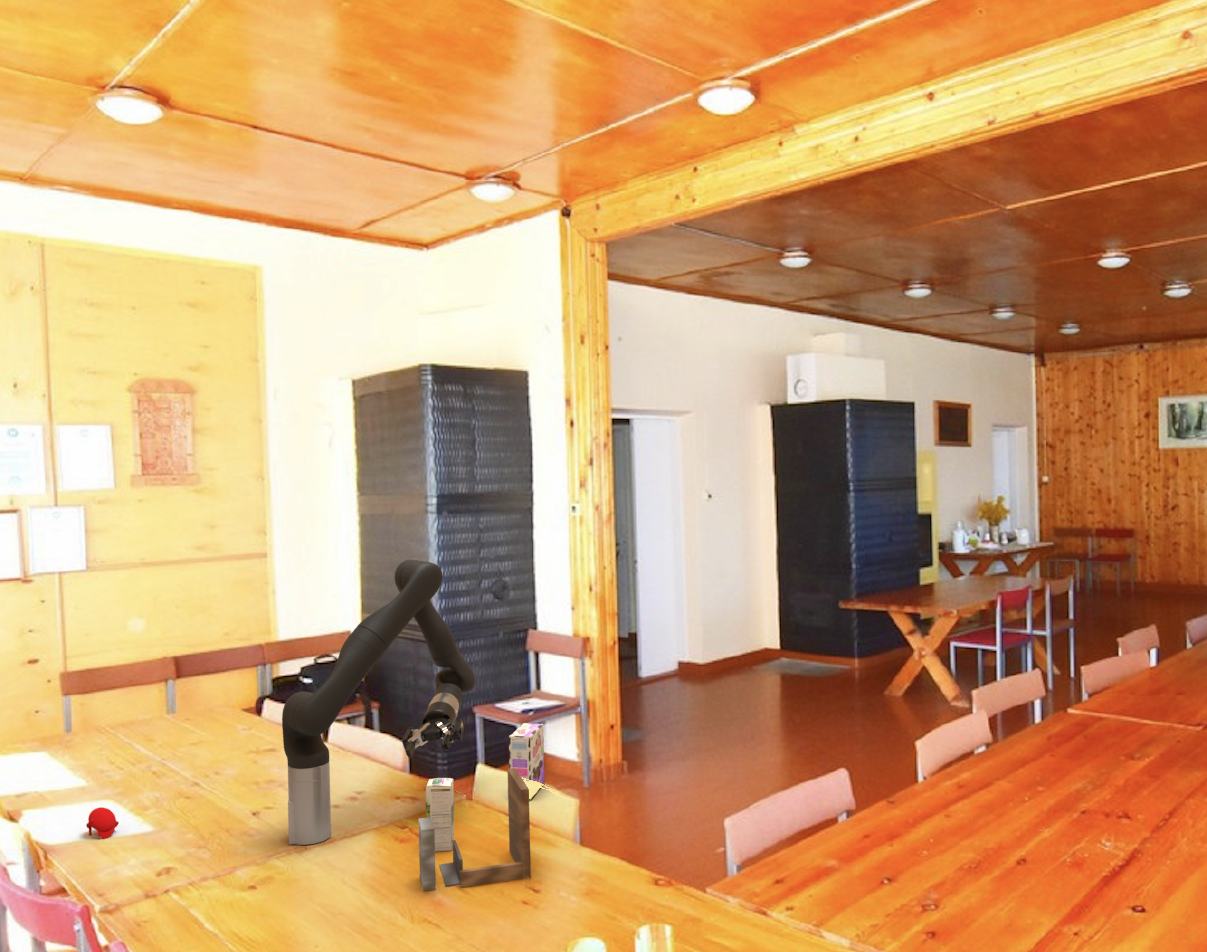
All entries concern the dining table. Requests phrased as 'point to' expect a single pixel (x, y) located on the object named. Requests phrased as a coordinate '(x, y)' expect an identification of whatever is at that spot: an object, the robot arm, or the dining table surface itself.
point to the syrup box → (441, 811)
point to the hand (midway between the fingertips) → (426, 751)
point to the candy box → (528, 752)
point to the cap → (102, 822)
